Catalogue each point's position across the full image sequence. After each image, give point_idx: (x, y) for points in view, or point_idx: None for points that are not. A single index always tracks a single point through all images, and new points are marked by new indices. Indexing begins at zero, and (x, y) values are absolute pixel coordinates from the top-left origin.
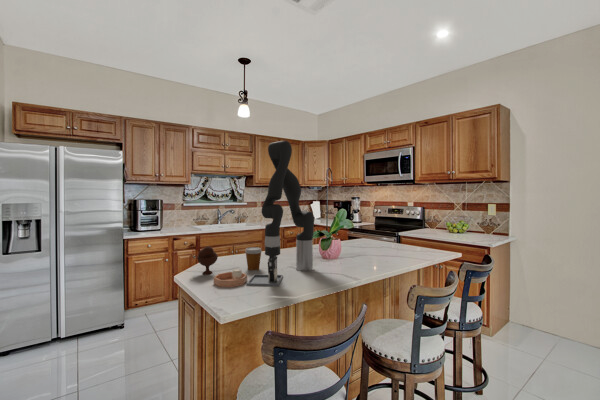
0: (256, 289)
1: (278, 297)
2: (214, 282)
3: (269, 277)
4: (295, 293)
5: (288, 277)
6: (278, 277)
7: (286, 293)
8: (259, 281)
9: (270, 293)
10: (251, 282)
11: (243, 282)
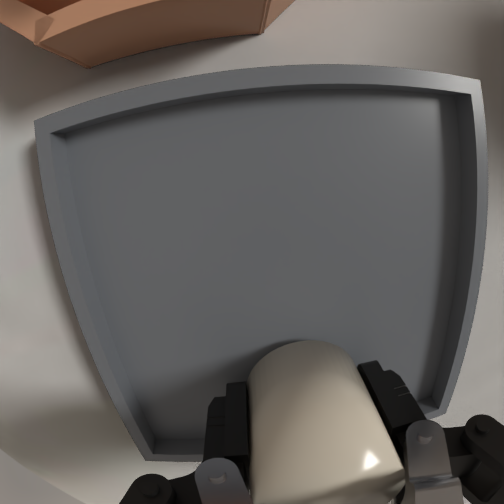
0: (22, 276)
1: (4, 434)
2: None
3: (257, 399)
4: (100, 497)
5: (442, 418)
6: (427, 379)
7: (73, 470)
8: (252, 226)
9: (17, 398)
10: (177, 125)
11: (68, 56)
